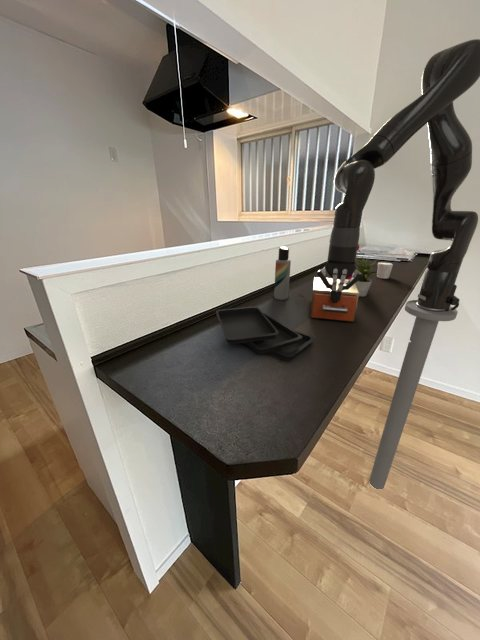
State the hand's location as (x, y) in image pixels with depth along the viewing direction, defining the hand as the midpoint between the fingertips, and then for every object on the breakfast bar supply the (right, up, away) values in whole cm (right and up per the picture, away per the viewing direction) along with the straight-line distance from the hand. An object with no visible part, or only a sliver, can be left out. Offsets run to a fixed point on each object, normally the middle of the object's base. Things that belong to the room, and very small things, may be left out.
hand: (334, 301), depth 81 cm
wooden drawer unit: (+2, -3, +8) cm, 9 cm away
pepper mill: (+24, +14, +50) cm, 57 cm away
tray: (-25, -11, -7) cm, 28 cm away
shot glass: (+44, +16, +54) cm, 72 cm away
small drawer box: (+3, -2, +13) cm, 13 cm away
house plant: (+20, +5, +30) cm, 37 cm away
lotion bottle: (-12, +3, +26) cm, 29 cm away
